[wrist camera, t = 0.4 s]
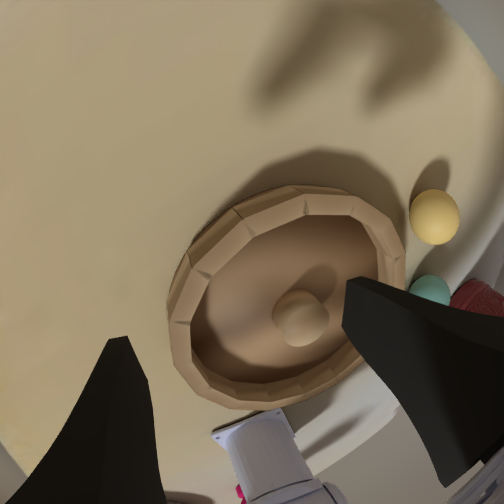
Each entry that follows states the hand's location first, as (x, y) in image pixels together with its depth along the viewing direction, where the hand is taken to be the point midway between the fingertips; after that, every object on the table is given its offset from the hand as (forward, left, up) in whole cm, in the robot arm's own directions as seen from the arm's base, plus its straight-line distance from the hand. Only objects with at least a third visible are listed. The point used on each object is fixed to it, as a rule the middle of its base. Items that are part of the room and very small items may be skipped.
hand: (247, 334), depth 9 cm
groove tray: (-9, -4, -10) cm, 14 cm away
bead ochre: (-6, -18, -10) cm, 21 cm away
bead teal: (-15, -18, -10) cm, 25 cm away
